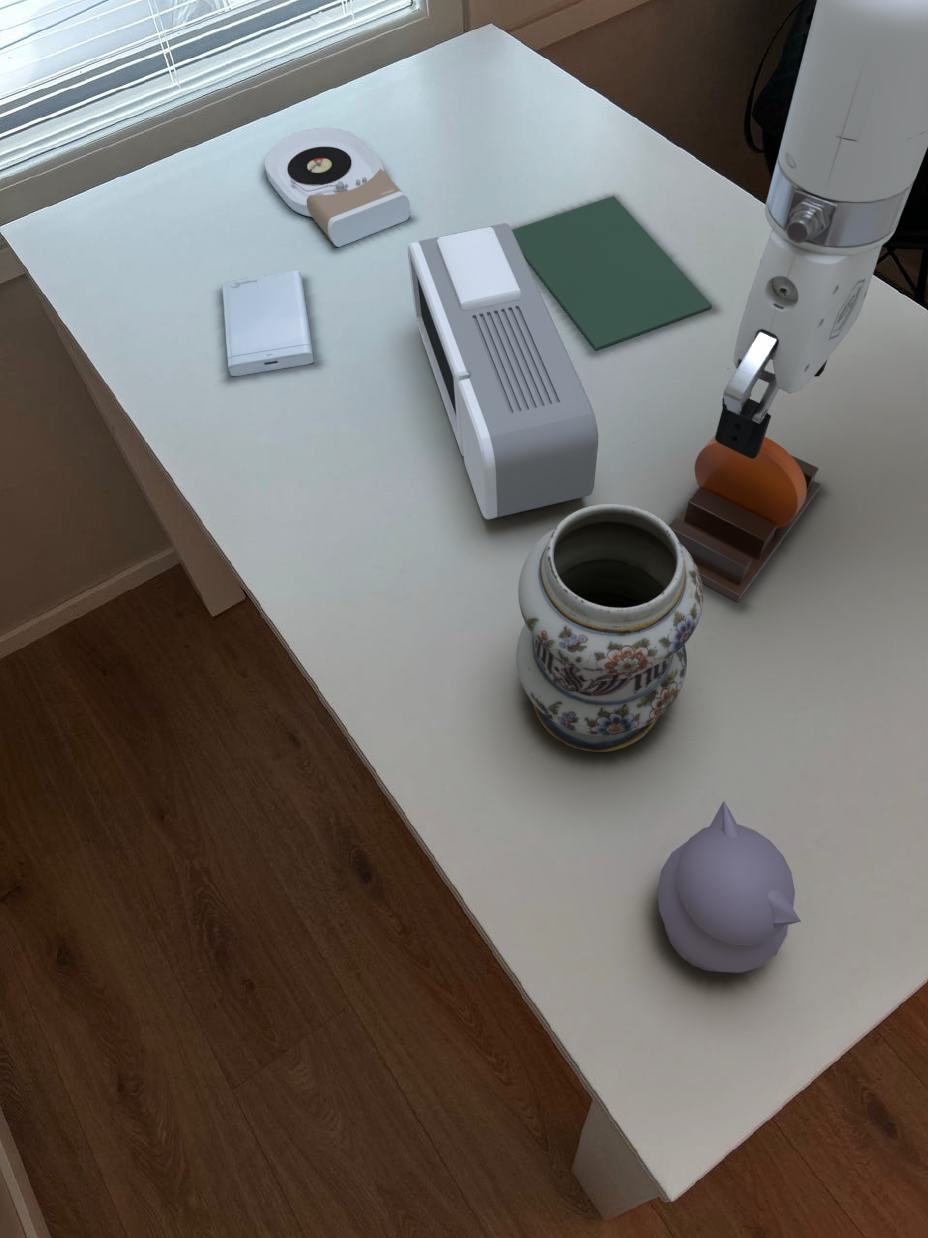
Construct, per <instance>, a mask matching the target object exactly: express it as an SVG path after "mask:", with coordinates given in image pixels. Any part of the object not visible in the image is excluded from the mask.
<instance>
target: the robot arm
mask: <svg viewBox="0 0 928 1238" xmlns="http://www.w3.org/2000/svg"><path fill="white" fill-rule="evenodd" d="M801 58H802V59H801V62H800V67H799V70H798V74H797V78H796V82H795V86H794V89H793V94H792V97H791V102H790V105H789V110H788V114H787V118H786V122H785V126H784V131H783V134H782V138H781V142H780V146H779V151H778V154H777V158H776V162H775V166H774V170H773V174H772V178H771V182H770V186H769V190H768V194H767V198H766V201H765V206H764V215H765V218H766V220H767V222H768V225H769V226H770V228H771V229H770V234H769V236H768V239H767V242H766V244H765V248H764V250H763V253H762V256H761V258H760V260H759V264H758V267H757V270H756V272H755V273H756V274H755V276H754V278H753V282H752V286H751V289H750V291H749V295H748V298H747V300H746V304H745V307H744V311H743V314H742V317H741V322H740V325H739V329H738V333H737V337H736V340H735V345H734V350H733V358H732V359H733V364H734V367H735V369H736V370H735V371H734V373H733V375H732V377H731V378H730V379H729V382H728V383H727V384H726V387H725V388H724V391H723V393H722V396H723V397H722V399H721V403H722V404H721V407H722V409H721V412H720V417H719V420H718V424H717V427H716V432H715V435H714V436H715V439H716V441H717V442H718V443H720V444H722V445H724V446H726V447H728V448H730V449H732V450H734V451H736V452H738V453H740V454H742V455H744V456H746V457H749V458H751V459H754V458H756V456H757V455H758V454H759V452H760V449H761V446H762V443H763V440H764V437H766V434H767V430H768V427H769V425H770V421H771V418H772V415H771V414H770V413H768V412H769V410H770V408H771V406H772V404H773V402H774V400H775V398H776V396H777V394H778V392H779V391H780V390H782V391H784V392H786V393H788V394H789V395H791V394H795V393H798V392H800V391H802V390H803V389H804V388H805V387H806V386H807V385H808V384H809V383H810V382H811V381H812V379H813V378H817V377H820V376H821V375H822V374H823V372H824V370H825V368H826V365H827V363H828V361H829V358H830V357H831V356H832V355H833V353H834V352H835V351H836V349H837V348H838V347H839V345H840V344H841V342H843V340H844V339H845V337H846V336H847V335H848V333H849V332H850V330H851V329H852V328H853V327H854V325H855V323H856V322H857V320H858V318H859V316H860V313H861V311H862V308H863V305H864V302H865V299H866V297H867V294H868V291H869V288H870V285H871V281H872V278H873V275H874V272H875V269H876V266H877V263H878V260H879V257H880V254H881V251H882V247H883V245H885V243H887V242H889V240H890V239H891V238H892V237H893V235H894V233H895V232H896V229H897V227H898V225H899V222H900V219H901V216H902V213H903V211H904V208H905V206H906V204H907V200H908V199H909V195H910V193H911V190H912V187H913V185H914V183H915V180H916V178H917V175H918V173H919V171H920V167H921V166H922V162H923V160H924V157H925V155H926V152H927V149H928V0H816V3H815V7H814V11H813V15H812V19H811V23H810V27H809V30H808V35H807V38H806V43H805V45H804V51H803V54H802V57H801ZM771 360H772V366H773V372H771V371H769V370H768V369H766V367H767V365H769V362H770V361H771ZM758 380H761V381H763V382H765V383H767V384H768V385H767V387H766V389H765V391H764V393H763V394H762V397H761V398H760V401H756V400H754V399H752V398H751V397H752V391H753V389H754V387H755V385H756V383H757V382H758Z"/></svg>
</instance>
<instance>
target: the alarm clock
mask: <svg viewBox="0 0 928 1238" xmlns="http://www.w3.org/2000/svg"><path fill="white" fill-rule="evenodd" d="M512 230H513V229H512V228H511V226H510V224H508V223H507V222H506V223H505V222H503V223H499V224H495V225H490V226H484V227H480V228H476V229H470V230H465V231H461V232H460V231H459V232H456V233H451V234H450V233H449V234H446V235H442V236H436V237H433V238H432V237H431V238H427V239H422V240H417V241H412V242H409V243H408V244H407V260H408V268H409V276H410V286H411V293H412V302H413V309H414V314H415V319H416V323H417V328H418V331H419V334H420V337H421V340H422V342H423V345H424V349H425V351H426V355H427V358H428V360H429V363H430V367H431V369H432V372H433V375H434V378H435V381H436V384H437V387H438V390H439V393H440V396H441V398H442V401H443V404H444V408H445V411H446V413H447V415H448V416H447V417H448V419H449V422H450V425H451V428H452V431H453V434H454V436H455V439H456V443H457V446H458V449H459V451H460V455H461V456H463V464H464V466H465V469H466V472H467V475H468V477H469V480H470V485H471V487H472V489H473V493H474V495H475V499H476V501H477V504H478V507H479V510H480V512H481V515H482V516H483V518H484V519H486V520H491V519H495V518H496V519H497V518H500V517H503V516H505V517H506V516H509V515H513V514H518V513H522V512H526V511H529V510H534V509H539V508H543V507H547V506H551V505H555V504H559V503H564V502H569V501H572V500H577V499H581V498H585V497H588V496H591V495H592V493H593V491H594V489H595V480H596V471H597V470H596V469H597V461H598V460H597V459H598V449H599V431H598V423H597V419H596V415H595V411H594V408H593V406H592V403H591V401H590V399H589V397H588V395H587V393H586V391H585V389H584V386H583V384H582V382H581V379H580V376H579V375H578V372H577V370H576V369H575V366H574V365H573V361H572V360H571V357H570V354H569V352H568V350H567V349H566V346H565V344H564V342H563V340H562V337H561V335H560V333H559V331H558V329H557V326H556V324H555V322H554V320H553V317H552V316H551V313H550V311H549V309H548V307H547V305H546V302H545V300H544V298H543V296H542V293H541V291H540V289H539V287H538V285H537V282H536V280H535V278H534V276H533V273H532V272H531V271H532V270H531V269H530V267H529V264H528V262H527V260H526V259H525V258H524V256H523V254H522V251H521V249H520V247H519V245H518V243H517V240H516V238H515V236H514V234H513V232H512Z"/></svg>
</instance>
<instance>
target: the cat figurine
mask: <svg viewBox="0 0 928 1238" xmlns="http://www.w3.org/2000/svg"><path fill="white" fill-rule="evenodd" d="M658 879H659V880H658V884H657V901H658V911H659V915H660V917H661V919H662V922H663V924H664V931H665V933H666V935H667V938H668V941H669V943H670V945H671V946H672V947H673V949H674V950H675V952H676V953H677V954H678V955H679V956H680V957H681V958H682V959H683V960H685V961H686V962H687V963H689V964H690V965H691V966H693V967H696V968H698V969H700V970H701V969H702V970H704V971H706V972H712V973H713V972H716V973H717V972H718V973H735V974H741V973H746V972H749V971H752V970H755V969H758V968H762V967H763V966H764V965H765V964H767V962H769V961H770V960H771V959H772V958H774V957H775V956H776V955H777V954H778V952H779V950H780V949H781V947H782V945H783V943H784V941H785V940H786V938H787V935H788V931H789V925H792V924H797V923H801V922H802V920H801V919H800V917H799V916H798V914H797V912H796V911H795V909H794V903H795V897H796V889H795V883H794V877H793V874H792V870H791V868H790V867H789V864H788V862H787V860H786V858H785V856H784V855H783V854H782V852H781V851H780V850H779V849H778V848H777V847H776V846H775V844H774V843H773V842H772V840H770V839H769V838H767V837H765V836H764V835H763V834H761V833H759V832H758V831H757V830H755V829H753V828H749V827H748V826H744V825H741V824H739V823H738V822H737V821H736V819H735V818H734V816H733V814H732V812H731V810H730V809H729V807H728V805H727V803H726V801H725V800H723V801H722V803H721V805H720V807H719V808H718V810H717V812H716V814H715V816H714V818H713V819H712V822H711V823H710V825H709V826H707V827H703V828H702V829H700V830H699V831H697V832H696V833H695V834H693V835H692V836H691V837H689V839H688V840H687V841H685V842H684V843H682V844H681V845H680V846H679V847H678V848H676V849H675V850H673V851H672V852H671V853H670V855H669V857H668V858H667V860H666V861H665V863H664V865H662V868H661V869H660V875H659V878H658Z"/></svg>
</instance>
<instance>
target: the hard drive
mask: <svg viewBox="0 0 928 1238" xmlns="http://www.w3.org/2000/svg"><path fill="white" fill-rule="evenodd" d="M221 287H222V288H221V289H222V302H223V303H222V304H223V315H224V316H223V318H224V329H225V342H226V343H225V344H226V345H225V346H226V355H227V356H226V357H227V368H228V370H229V373H230V375H231V377H239V376H246V375H253V374H258V373H264V372H269V371H275V370H281V369H288V368H295V367H301V366H306V365H310V364H312V363H314V361H315V360H314V354H313V347H312V346H313V345H312V340H311V332H310V325H309V318H308V310H307V305H306V304H307V303H306V297H305V296H306V295H305V290H304V283H303V277H302V273H301V271H300V270H290V271H289V270H288V271H283V272H277V273H271V274H265V275H264V274H263V275H259V276H254V277H253V276H252V277H247V278H242V279H235V280H229V281H225V282H223V283H222V284H221Z"/></svg>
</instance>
